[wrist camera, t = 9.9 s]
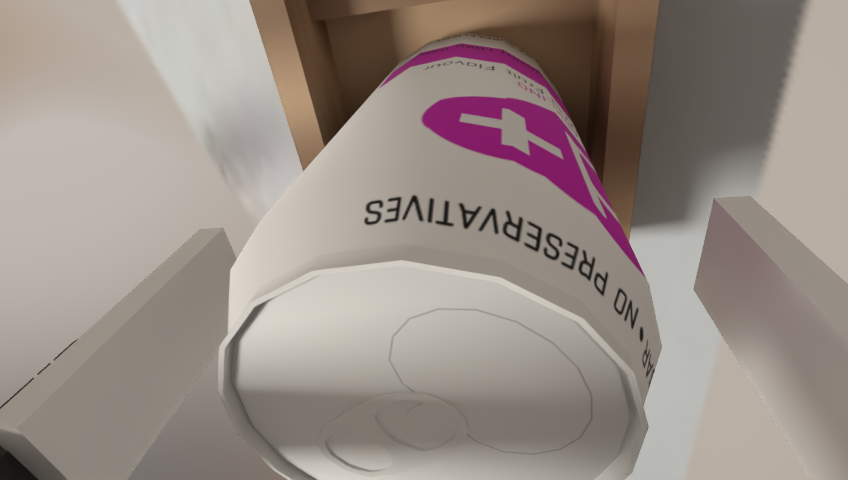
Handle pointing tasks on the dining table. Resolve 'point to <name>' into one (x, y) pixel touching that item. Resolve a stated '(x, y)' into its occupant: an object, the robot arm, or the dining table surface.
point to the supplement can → (444, 291)
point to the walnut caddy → (482, 15)
